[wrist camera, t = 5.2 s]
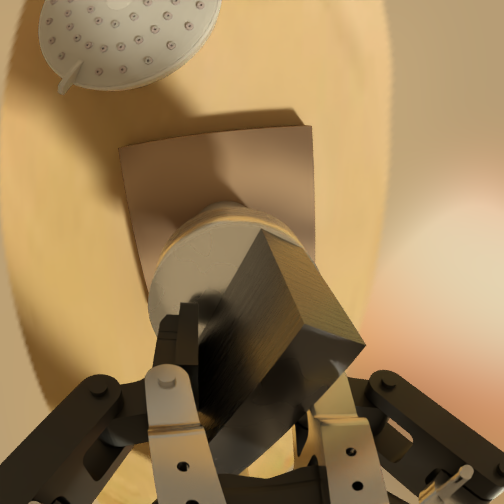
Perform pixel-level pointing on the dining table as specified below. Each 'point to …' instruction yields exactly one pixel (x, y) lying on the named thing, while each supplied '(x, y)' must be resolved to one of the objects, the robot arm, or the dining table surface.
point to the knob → (252, 327)
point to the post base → (218, 182)
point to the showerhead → (122, 39)
